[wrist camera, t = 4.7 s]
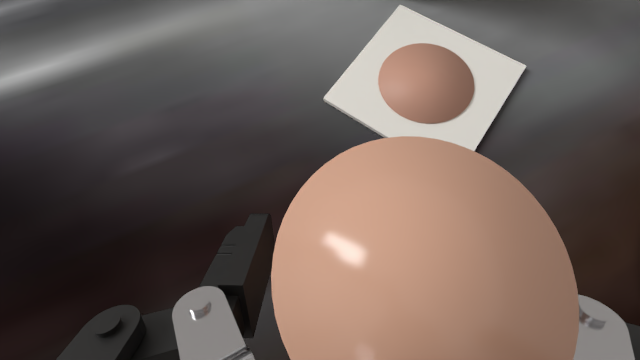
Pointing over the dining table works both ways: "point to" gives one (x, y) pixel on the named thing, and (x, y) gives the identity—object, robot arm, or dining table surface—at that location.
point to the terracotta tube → (421, 261)
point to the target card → (425, 82)
